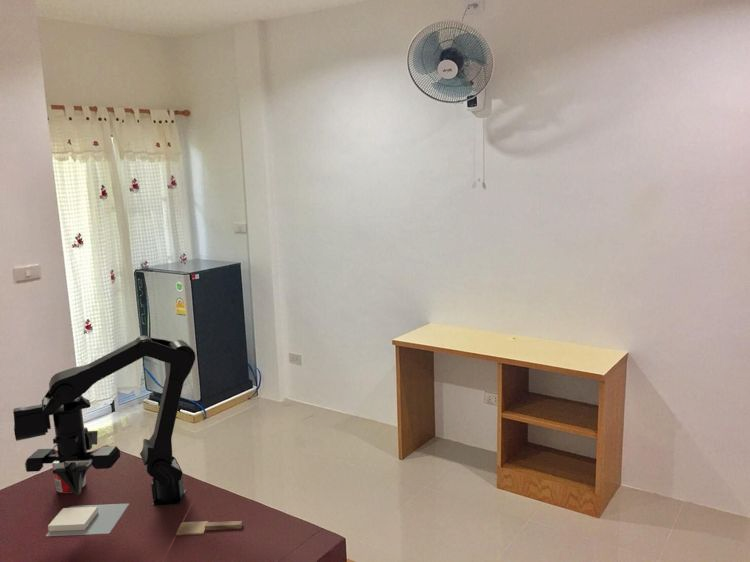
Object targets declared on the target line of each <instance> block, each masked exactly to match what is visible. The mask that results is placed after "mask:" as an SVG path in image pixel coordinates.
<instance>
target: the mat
mask: <svg viewBox="0 0 750 562" xmlns="http://www.w3.org/2000/svg"><path fill="white" fill-rule="evenodd" d="M128 506H130V503H110V504H88V505H85V504H83V505H71V506H69V508H77V507H98V514H97V515H96V516H95V518H94V519H93V520H92V522H91V523H90V524H89V526H88V527H87V528H86V530H81V531H58V532H50V531H49V530H48V532H47V533H46V535H45V537H60V536H61V537H63V536H84V535H85V536H86V535H88V536H89V535H104V534H106V535H107V534H110V533H111V532H112V531H113V529H114V527H115V526H116V524H117V523H118V522H119V520H120V519H121V517H122V516H123V514H124V513H125V511H126V510H127V508H128Z"/></svg>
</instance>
